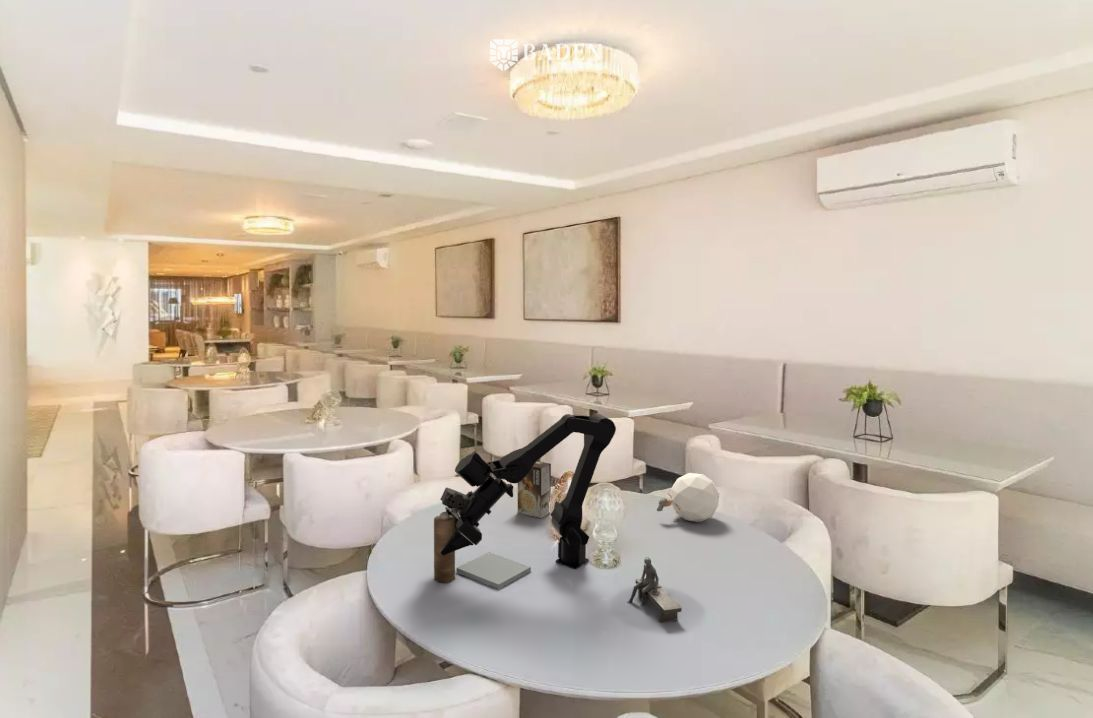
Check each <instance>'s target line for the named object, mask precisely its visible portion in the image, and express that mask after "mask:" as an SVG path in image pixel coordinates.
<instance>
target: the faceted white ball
mask: <svg viewBox="0 0 1093 718" xmlns="http://www.w3.org/2000/svg"><path fill="white" fill-rule="evenodd" d="M667 494H668V496H669V497H670V499H668V498H661V499H660V500H658V506H657V508H656V511H657V512H663V509H664V508H665V507H670V506H672V507H673V510H674V511H675V513H676V514H677V515H678V516H679V517H681V518H682V519H684V520H685V521H688V522H689V521H690V522H695V523H702V522H704V521H706V520H708V519H710V518H712V517H713V516H714V514H715V512H716V510H718V507H719V501H720V492H719V490H718V488H717V486H716V485H715V483H714V480H712V479H710V477H708V476H706V475H705V474H703V473H702V474H701V473H694V472H688V473H685V474H684V475H682V476H680V477H678V478H676V481H675V482H674V483H673V485H672V487H671V490H670V493H669V491H667Z"/></svg>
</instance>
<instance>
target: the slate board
mask: <svg viewBox="0 0 1093 718" xmlns="http://www.w3.org/2000/svg"><path fill="white" fill-rule="evenodd" d="M531 568H532V567H531V566H530V565H526V564H523V563H520V562H518V561H516V560H513V559H509V558H507V557H504V556H501V555H499V554H495V553H494V552H493V553H492V552H489V551H488V552H487V553H484V554H482V555H480V556H478V557H476V558H474V559H472V560H470V561H467V562H465V563H463V564H461V565H459V566H456V567H455V573H457V574H460V575H463V576H465V577H467V578H469V579H471V580H475V581H477V582H480V583H482V584H485V585H488V586H490V587H493V589H497V590H501V589H502V588H504V587H507V585H509V584H511V583H513V582H515V581H516V580H518V579H520V578H522V577H523V576H525V575H527V574H529V573H531V571H532V570H531Z"/></svg>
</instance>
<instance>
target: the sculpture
mask: <svg viewBox="0 0 1093 718" xmlns="http://www.w3.org/2000/svg"><path fill="white" fill-rule="evenodd" d="M643 562H644V564H643V570H642V575H641V577H640V578H638V579H637V578H636V579H635V585H634V586H633V589H632V592H631V595H630V597H629V600H628V601H626V603H627V604H630V603H633V600H634V599H635V597H636V594H637V597H638V599H642V600H641V604H640V605H639V606H640V607H643V606H645V605H647V604H646V599H647V598H648V599H650V600H651V601H652V602H653V604H654V605H655V606H656V607H657V608H658V622H659V623H665V622H671V621H678V615H679V614H678V613H682V606H680V605H679V604H678V603H677V602H676V601H675V600H674V599H673V598H672V596H670V594H669V593H667V591H666V590H665V589H663V588H662V585H660V584H659V580H660V579H659V576H658V573H657V569H656V568H655V566H654V565H653V564H652V559H651V558H650V557H649V556H646V557H644V560H643Z"/></svg>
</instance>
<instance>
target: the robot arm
mask: <svg viewBox="0 0 1093 718" xmlns="http://www.w3.org/2000/svg"><path fill="white" fill-rule="evenodd" d="M616 431H617V427H616V423H615V422H614V421H613V420H612V419H610V418H608V417H606V416H604V415H603V414H600V413H593V414H592V415H584V414H583V415H580V414H577V415H576V414H570V413H566V414H564V415H562V417H561V418H560V419H559V420H557V421H556V422H555V423H554V424H553V425H551V426H550V427H549V428H547V429H546V430H545V431H543V432H542V433H541V434H539V435H538V436H537V437H535V438H534V439H533V440H532V441H530V442H529V443H528V444H527V445H525V446H524V447H521V448H519V449H514V450H513V451H510V452H509V453H508V454H505V455H504V456H502V457H501V458H500V459H496V460H492V461H487V462H486V460H484V458H482V457H481V455H480V454H479V453H478V452H477V451H476V450H474V451H473V452H472V453H469V454H468V455H466V456H464V457H462V458H461V460H460V461H459V462H458V463H457V464H456V466H455V468H454V472H455V473H456V474H457V475H458V476H460V478H462V479H463V481H465V483H467V484H468V485H469V486H470V487H471V488H473V487H476V489H475V490H474V491H472V490H471V491H468V492H467V493H466V494H465V493H463V492H460V491H458V490H455V489H452V488H449V487H446V486H445V488H444V490H443V493H442V495H441V497H440V499H439V500H440V501H441V504H442V505H443V506H445V509H444V510H445V512H447V513H448V514H449V515H451V516H454V517H455V525H454V532H453V535H452V536H451V538H450V539H449V540H448V542H447V543H446V545H445V546H444V547H443V549H442V550H441V552H440V553H441V554H442V555H443V556H444V555H446V554H449V553H451V552H454V551H455V552H456V551H458V550H460V549H463V548H466V547H469V546H472V547H473V546H474V545H475V546H477V545H479V543H480V542H481V541H482V539H483V533H482V532H481V530H480V528H479V526H480V523H479V522H480V520H481V519H482V518H483V517H484V516H485V515H486V514H487V515H488V516H489V515H490V514H491V513H492V511H491V508H493V507H494V506H495V504H496V503H497V502H498V501H499V500H500V499H501V498H502V497H503V496H504V495H505V494H507V495H508V496H509V497H510V498H513V497H514V485H513V484H515V485H516V484H518V483H519V482H520V481H522V480H523V479H524V478H525V476H526V475H527V474H528V473H529V472H530V471H531V469H532V468H533V466H534V464H535V463H536V462H537V461H539V460H540V459H542V457H544V456H546V454H548V453H549V452H550V451H552V450H553V449H554V448H555V447H557V446H558V445H559V444H561V442H563V441H564V440H565V439H567V438H568V437H569V436H570V435H572V434H573V433H578V434H581V435H582V434H583V448H582V450H581V453H580V456H579V458H578V461H577V464H576V467H575V470H574V474H573V475H572V479H571V481H570V484H569V486H568V489H567V493H566V495H565V497H564V498H563V500H562V501H561V502H559V501H557V500H556V501H555V503H554V505H553V506H554V507H553V510H552V511H551V512H550V513H549V514H550V516H551V519H550V520H551V521H550V522H551V524H552V527H553V528H554V529H555V531H557V532H558V534H559V535H560V537H559V542H558V543H557V558H556V559H555V563H556V564H559V565H561V566H565V567H568V568H570V569H573V570H577V569H579V568H580V567H582V566H584V565H585V564H587V563H588V562H589V561H590V559H589V558H587V557H586V555H587V554H586V553H587V549H586V548H587V545H588V542H589V540H590V536H589V535H588V534H587V533H586V531H585V530H584V529H583V528H582V522H583V505H584V504H583V503H584V501H585V499H586V495H587V492H588V490H589V488H590V484H591V481H592V479H593V477H594V473H595V470H596V469H597V465H598V462H599V460H600V456H601V454H602V452H603V451H605V449H607V447H608V446H609V445H610V444H611V442H612V439H613V438H614V436H615V434H616ZM504 480H505V481H506V482H508V483H506V482H505V481H504Z"/></svg>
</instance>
